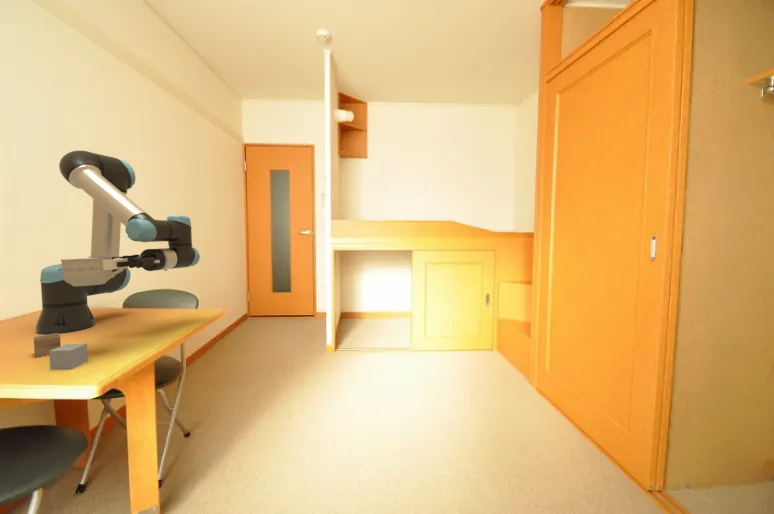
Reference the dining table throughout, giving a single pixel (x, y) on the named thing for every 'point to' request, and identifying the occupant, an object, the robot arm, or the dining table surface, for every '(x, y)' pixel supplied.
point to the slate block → (68, 356)
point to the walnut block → (46, 344)
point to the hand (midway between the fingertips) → (87, 264)
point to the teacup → (86, 271)
